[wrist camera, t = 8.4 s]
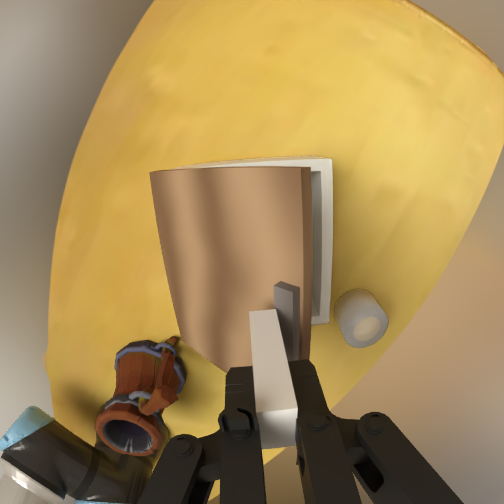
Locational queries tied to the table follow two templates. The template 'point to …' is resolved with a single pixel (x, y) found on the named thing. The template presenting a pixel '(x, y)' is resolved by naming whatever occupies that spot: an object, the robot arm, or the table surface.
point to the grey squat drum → (360, 318)
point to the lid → (237, 255)
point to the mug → (141, 397)
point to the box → (320, 221)
